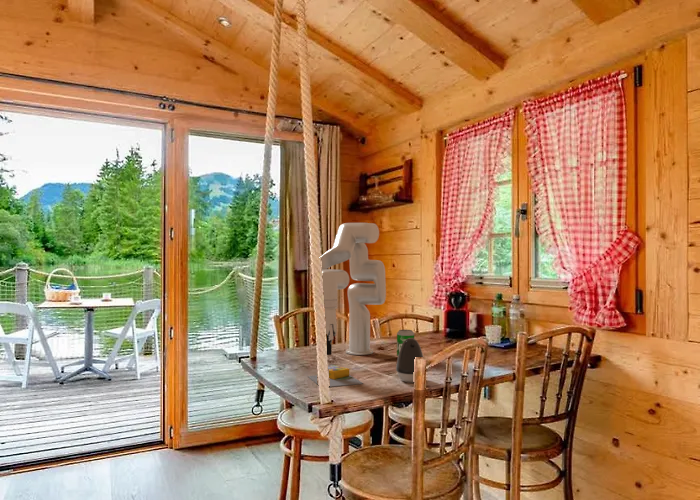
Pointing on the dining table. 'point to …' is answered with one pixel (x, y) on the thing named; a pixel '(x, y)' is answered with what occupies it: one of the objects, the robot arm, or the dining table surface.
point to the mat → (339, 383)
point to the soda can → (403, 338)
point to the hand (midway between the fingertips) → (326, 354)
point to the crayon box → (338, 372)
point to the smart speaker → (408, 359)
